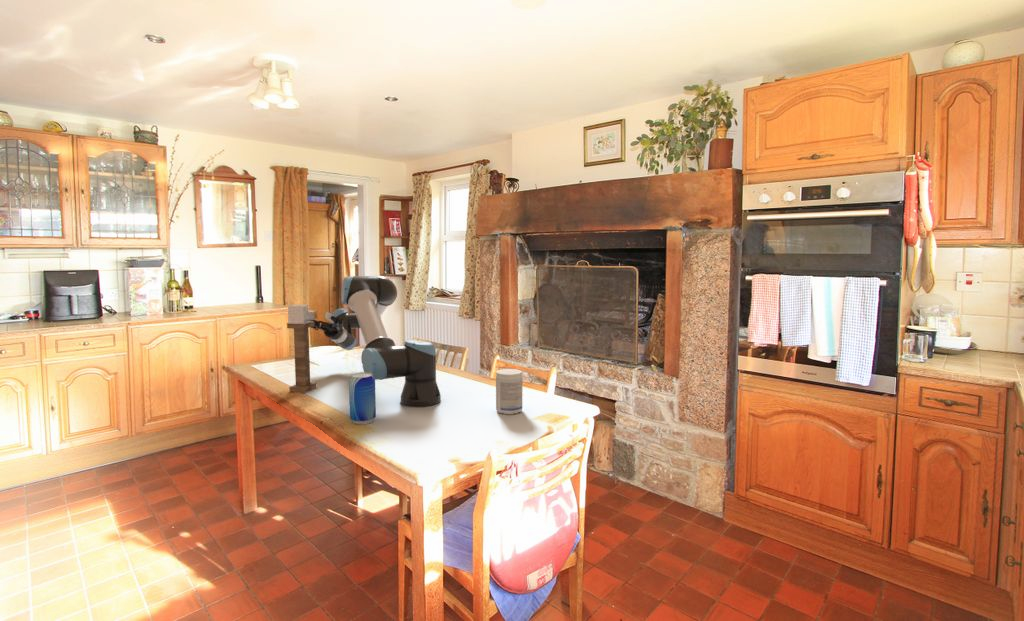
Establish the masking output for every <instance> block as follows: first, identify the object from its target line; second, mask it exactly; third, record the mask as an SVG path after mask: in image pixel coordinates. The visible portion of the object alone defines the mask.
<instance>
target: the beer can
mask: <svg viewBox="0 0 1024 621" xmlns="http://www.w3.org/2000/svg"><path fill="white" fill-rule="evenodd" d="M348 391H349V392H348V393H349V394H348V396H349V400H348V401H349V419H350V421H351V423H353V424H354V423H356V424H355V425H366V424H365V423H368V424H371V423H373V422H374V420H375V419H376V417H377V415H376V414H377V413H376V412H377V410H376V409H377V406H376V380H374V378H373V377H372V374H371V373H365V372H357V373H353V374H352V375H351V378H350V380H349V381H348ZM370 422H371V423H370Z"/></svg>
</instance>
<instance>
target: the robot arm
mask: <svg viewBox="0 0 1024 621" xmlns="http://www.w3.org/2000/svg"><path fill="white" fill-rule="evenodd" d="M340 294H341V296H340V297H341V298H340V299H341V304H342V305H345V306H347V305H348V307H349V309H350V310H351V311H353V312H352V313H350V312H349V311H348V309H346V308H337V309H336V310H335V309H334V311H333V312H332V313H330V312H329V311H327V310H326V311H325V315H324V318H325V319H327V321H329V322H327V321H322V320H317V319H314V320H311V321H314V325H315V326H313V327H310V328H311V329H313V330H315V331H318V330H321V331H322V332H323V334H324V335H325V336H326V338H328V339H330V340H331V341H332V342H334V344H336V345H338V346H339V347H340V348H342V349H343V350H346V351H351V350H353V349H354V348H356V346H357V338H356V337H355V335H353V330H354V329H360V331H361V334H362V338H363V340H364V344H365V346H364V349H363V350H362V352H361V357H360V358H361V359H360V360H361V364H362V370H363V373H371V374H372V377H373V378H374V380H375V381H377V380H379V381H382V380H388V379H395V378H402V377H403V378H404V384H403V388H402V391H401V395H400V404H401V405H403V406H408V407H416V408H417V407H418V408H419V407H430V406H434V405H437V404H439V403H441V396H442V395H441V392H440V389H439V387H438V386H439V385H438V383H437V352H436V350H437V349H436V348H437V347H436V345H435V344H434V343H432V342H429V341H424V340H413V339H411V340H409V339H408V340H405V341H404V343H403V345H396V343H395V341H394V340H393V339H392V338H390V337H389V336H388V334H387V331H386V329H385V326H384V324H383V320H382V315H383V314H384V312H385V310H386V309H387V308H388V307H389V306H391V305H392V304H394V302H395V301H396V300H397V298H398V288H397V286H396V284H395V283H394V282H393V281H392V280H391V279H390V278H388V277H385V276H382V275H352V276H345V277H343V280H342V283H341V293H340ZM352 329H353V330H352Z"/></svg>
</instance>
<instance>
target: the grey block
mask: <svg viewBox="0 0 1024 621" xmlns="http://www.w3.org/2000/svg"><path fill="white" fill-rule="evenodd" d="M287 315H288V323H289V324H304V323H308V322H309V321H311V320H317V319H318V310H317V309H314V310H312V309H309V304H292V305H288V306H287Z"/></svg>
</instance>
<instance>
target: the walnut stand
mask: <svg viewBox="0 0 1024 621" xmlns="http://www.w3.org/2000/svg"><path fill="white" fill-rule="evenodd" d="M313 326H315V325H314V321H309V322H308V323H304V324H289V322H287V323H286V329H292V330H293V343H294V344H293V345H294V349H293V350H294V374H295V377H294V378H295V384H293V385H291V386H289V392H290V391H292V392H291V393H298V392H301V393H302V394H306V392H307V393H309V392H310V390H311V391H313V390H316V389H317V382H311V367H310V365H311V364H310V363H311V362H310V339H309V338H310V336H309V335H310V334H309V333H310V332H309V329H310V328H311V327H313ZM312 389H313V390H312ZM308 391H309V392H308Z"/></svg>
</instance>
